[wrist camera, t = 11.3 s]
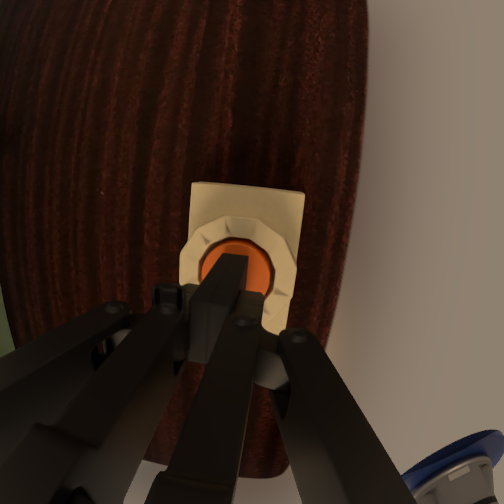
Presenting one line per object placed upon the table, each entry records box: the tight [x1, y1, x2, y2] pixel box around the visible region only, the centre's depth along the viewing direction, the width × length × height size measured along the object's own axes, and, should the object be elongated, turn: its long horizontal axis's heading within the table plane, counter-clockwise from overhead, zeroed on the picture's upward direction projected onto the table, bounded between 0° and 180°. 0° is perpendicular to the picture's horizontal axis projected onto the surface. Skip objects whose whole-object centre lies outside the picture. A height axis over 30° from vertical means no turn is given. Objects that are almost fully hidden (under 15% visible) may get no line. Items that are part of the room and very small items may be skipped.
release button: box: [201, 237, 271, 295], centre depth 18 cm, size 4×4×2 cm
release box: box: [179, 182, 305, 335], centre depth 20 cm, size 10×7×4 cm
